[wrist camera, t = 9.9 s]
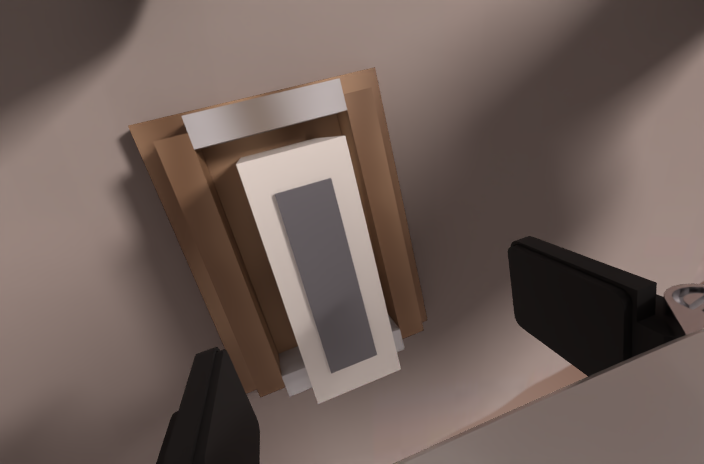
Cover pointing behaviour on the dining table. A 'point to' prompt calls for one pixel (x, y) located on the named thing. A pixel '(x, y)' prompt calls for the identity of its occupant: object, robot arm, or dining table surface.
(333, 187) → the white rectangular box
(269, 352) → the brown shallow tray
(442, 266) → the dining table surface
